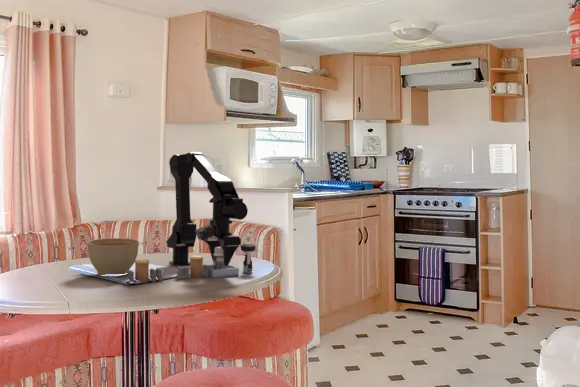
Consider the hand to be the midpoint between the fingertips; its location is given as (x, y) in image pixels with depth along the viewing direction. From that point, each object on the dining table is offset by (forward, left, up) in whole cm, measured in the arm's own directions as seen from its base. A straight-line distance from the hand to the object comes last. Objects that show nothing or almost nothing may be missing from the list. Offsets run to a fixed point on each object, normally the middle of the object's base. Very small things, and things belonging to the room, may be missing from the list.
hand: (220, 263), depth 192 cm
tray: (0, 0, -4) cm, 4 cm away
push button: (+1, +10, -4) cm, 11 cm away
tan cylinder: (+1, -9, -4) cm, 10 cm away
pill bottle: (0, 0, -3) cm, 3 cm away
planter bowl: (-13, -32, -4) cm, 35 cm away
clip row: (+1, -18, -4) cm, 18 cm away
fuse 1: (+1, -27, -4) cm, 27 cm away
